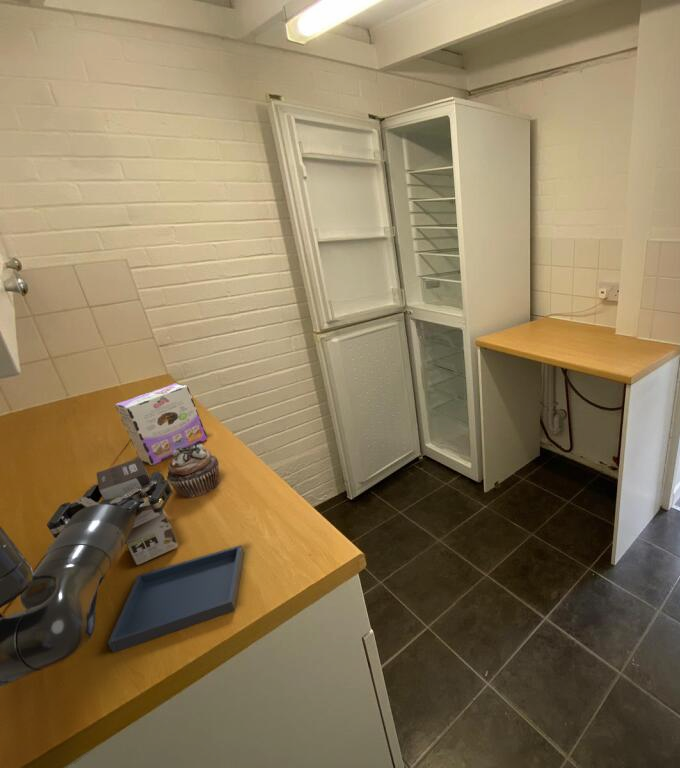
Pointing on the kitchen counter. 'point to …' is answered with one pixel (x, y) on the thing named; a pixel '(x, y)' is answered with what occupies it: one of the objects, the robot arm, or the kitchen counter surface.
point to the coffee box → (149, 528)
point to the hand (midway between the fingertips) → (129, 482)
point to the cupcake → (193, 471)
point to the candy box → (162, 422)
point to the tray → (179, 597)
